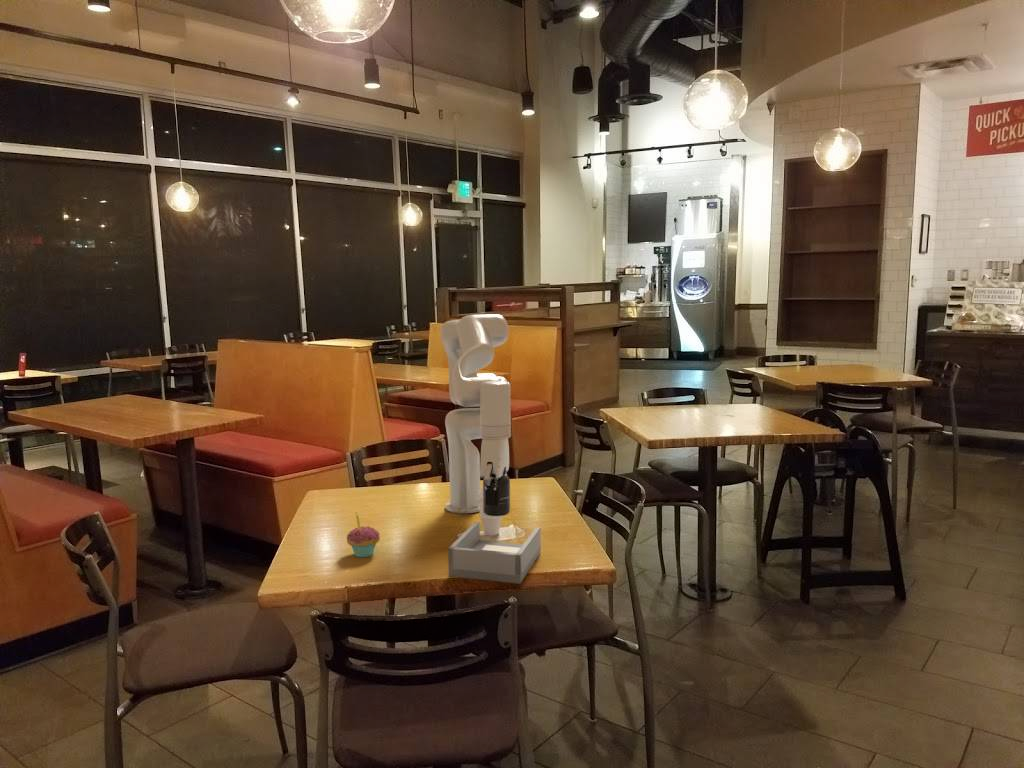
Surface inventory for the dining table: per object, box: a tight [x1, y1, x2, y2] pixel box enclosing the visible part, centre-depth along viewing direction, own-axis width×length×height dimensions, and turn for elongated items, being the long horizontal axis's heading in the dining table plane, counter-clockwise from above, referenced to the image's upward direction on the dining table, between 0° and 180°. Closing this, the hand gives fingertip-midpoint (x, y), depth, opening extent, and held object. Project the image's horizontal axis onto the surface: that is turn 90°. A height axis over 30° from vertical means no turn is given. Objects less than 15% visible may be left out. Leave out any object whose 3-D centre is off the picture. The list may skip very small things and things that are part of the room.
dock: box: [447, 521, 542, 585], centre depth 181 cm, size 20×18×7 cm
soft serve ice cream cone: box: [476, 485, 503, 537], centre depth 203 cm, size 8×8×16 cm
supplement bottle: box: [482, 467, 511, 517], centre depth 180 cm, size 7×7×12 cm
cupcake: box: [346, 512, 381, 558], centre depth 189 cm, size 9×8×12 cm
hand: (496, 500), depth 181 cm, fingers closed on supplement bottle, 6 cm apart
